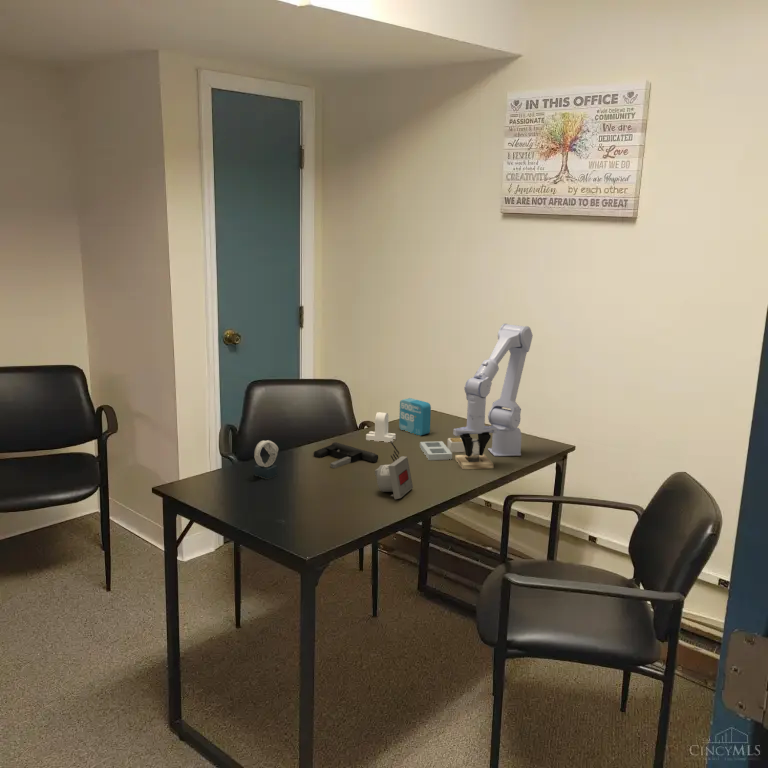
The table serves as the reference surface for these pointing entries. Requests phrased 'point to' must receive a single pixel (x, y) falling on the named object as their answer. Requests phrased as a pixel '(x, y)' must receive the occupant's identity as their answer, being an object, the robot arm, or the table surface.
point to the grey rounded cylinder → (475, 451)
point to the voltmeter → (395, 476)
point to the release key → (456, 440)
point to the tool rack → (436, 450)
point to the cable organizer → (381, 429)
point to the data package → (415, 416)
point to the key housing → (455, 446)
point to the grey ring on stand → (267, 468)
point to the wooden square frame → (464, 463)
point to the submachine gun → (345, 454)
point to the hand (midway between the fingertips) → (474, 455)
